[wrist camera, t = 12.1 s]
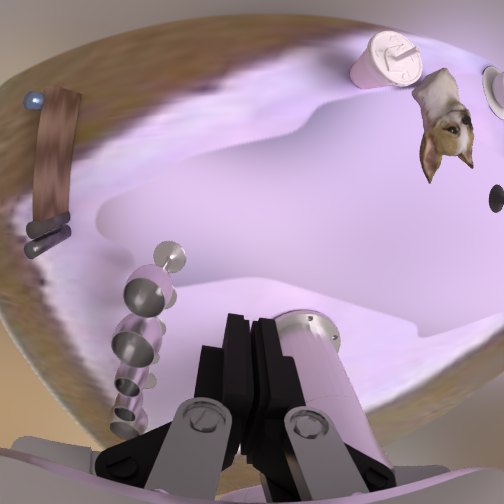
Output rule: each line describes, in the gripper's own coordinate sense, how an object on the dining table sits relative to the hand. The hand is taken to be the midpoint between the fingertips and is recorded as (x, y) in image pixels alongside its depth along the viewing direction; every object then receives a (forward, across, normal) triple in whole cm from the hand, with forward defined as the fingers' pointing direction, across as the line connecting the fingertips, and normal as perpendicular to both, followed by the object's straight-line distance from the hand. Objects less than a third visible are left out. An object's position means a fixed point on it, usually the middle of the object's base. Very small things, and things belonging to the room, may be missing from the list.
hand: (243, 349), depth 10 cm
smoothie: (+27, -12, -21) cm, 36 cm away
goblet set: (+27, +10, +19) cm, 35 cm away
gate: (+27, +24, -4) cm, 36 cm away
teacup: (+28, -39, -31) cm, 57 cm away
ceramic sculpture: (+28, -24, -18) cm, 41 cm away
